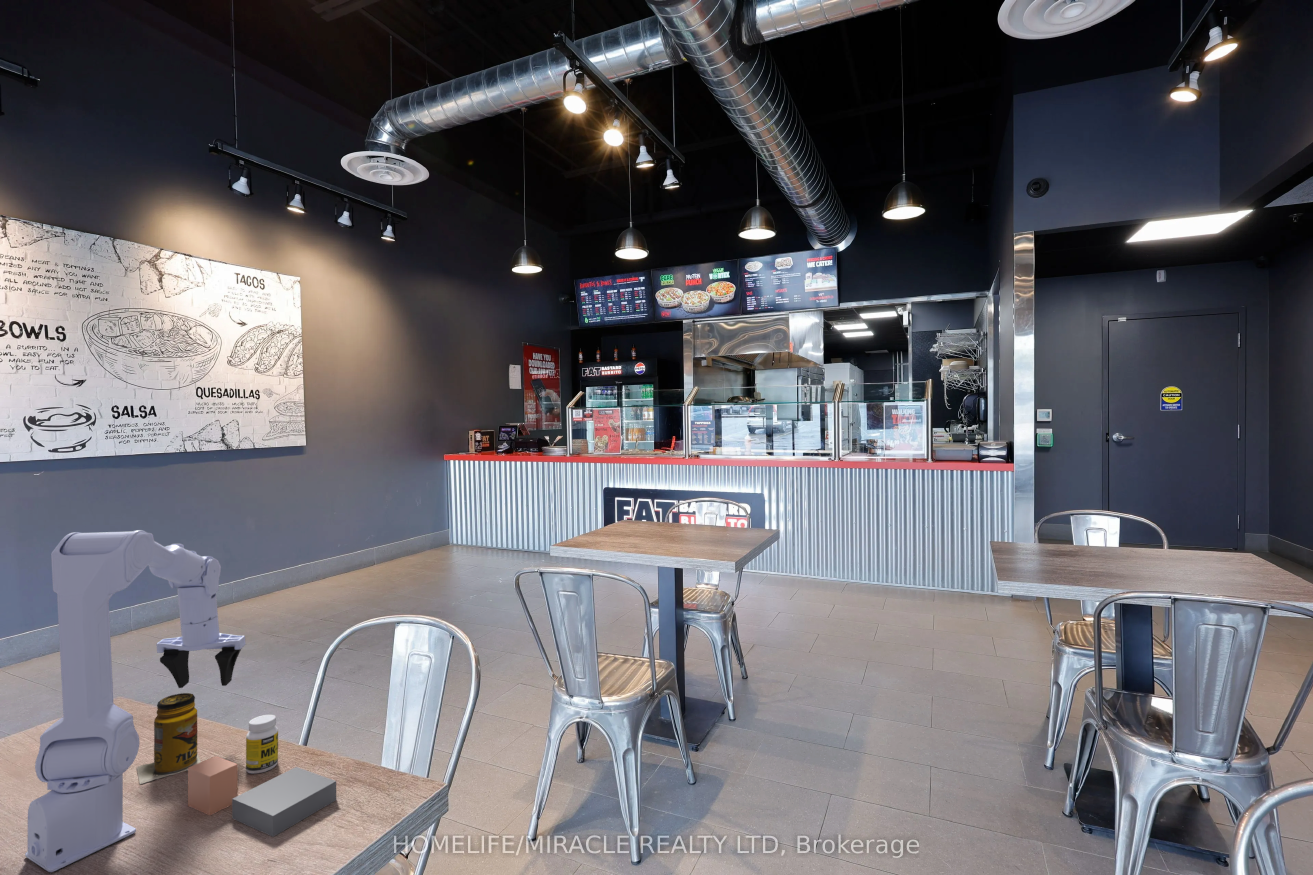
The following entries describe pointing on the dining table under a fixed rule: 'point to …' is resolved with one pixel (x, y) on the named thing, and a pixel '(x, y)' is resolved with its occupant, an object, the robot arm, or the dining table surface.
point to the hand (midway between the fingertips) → (205, 684)
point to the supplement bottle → (262, 744)
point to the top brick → (212, 785)
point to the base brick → (283, 801)
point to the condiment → (173, 738)
